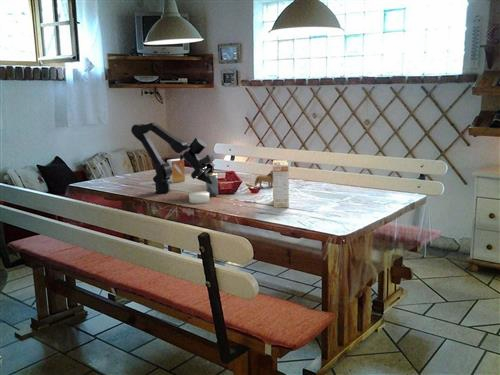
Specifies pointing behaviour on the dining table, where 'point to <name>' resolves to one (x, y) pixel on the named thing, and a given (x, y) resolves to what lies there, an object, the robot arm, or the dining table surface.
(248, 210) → the dining table surface
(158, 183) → the robot arm
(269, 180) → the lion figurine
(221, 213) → the dining table surface
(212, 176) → the grey tin
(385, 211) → the dining table surface
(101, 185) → the dining table surface
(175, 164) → the small box
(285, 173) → the coffeecake box
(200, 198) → the ceramic trivet
